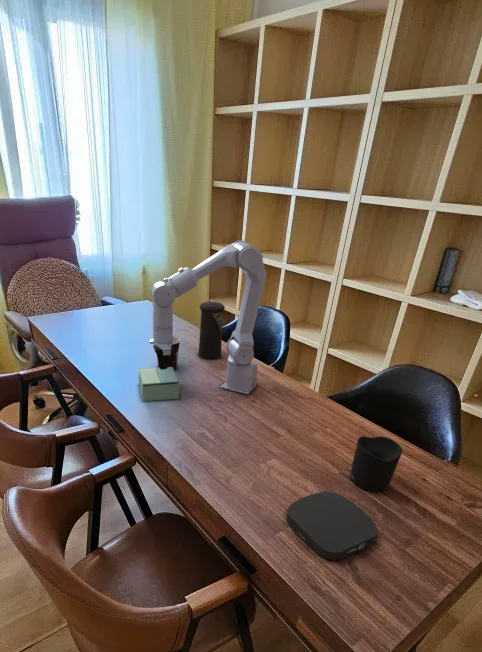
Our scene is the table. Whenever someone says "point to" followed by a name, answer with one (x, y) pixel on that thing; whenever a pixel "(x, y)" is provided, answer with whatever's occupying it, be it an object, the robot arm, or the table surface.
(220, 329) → the container
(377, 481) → the pen holder
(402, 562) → the table surface
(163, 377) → the lid
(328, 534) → the media streaming box
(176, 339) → the coffee mug
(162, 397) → the box
